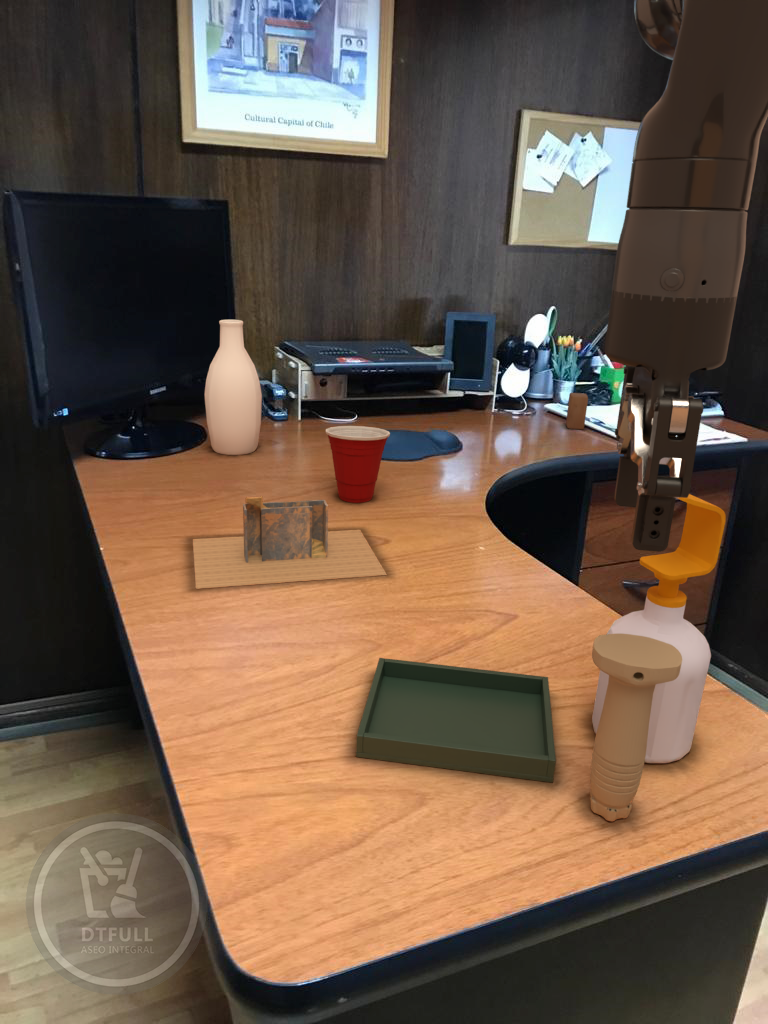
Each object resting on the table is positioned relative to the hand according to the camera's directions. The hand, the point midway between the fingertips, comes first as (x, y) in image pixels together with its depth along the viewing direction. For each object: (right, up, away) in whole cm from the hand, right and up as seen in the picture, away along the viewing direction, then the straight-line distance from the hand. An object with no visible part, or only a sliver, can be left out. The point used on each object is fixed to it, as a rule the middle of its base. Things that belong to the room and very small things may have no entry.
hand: (637, 525), depth 55 cm
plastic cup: (-23, +3, +78) cm, 82 cm away
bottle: (-48, +13, +102) cm, 114 cm away
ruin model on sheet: (-32, -5, +54) cm, 63 cm away
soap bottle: (+6, -20, +19) cm, 28 cm away
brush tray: (-11, -19, +19) cm, 29 cm away
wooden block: (+28, +21, +131) cm, 136 cm away
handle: (+1, -24, +9) cm, 25 cm away
